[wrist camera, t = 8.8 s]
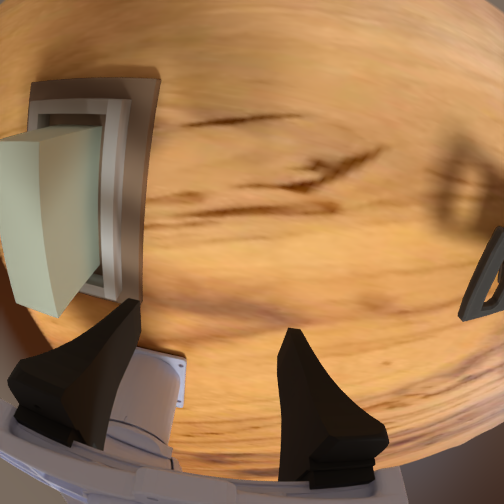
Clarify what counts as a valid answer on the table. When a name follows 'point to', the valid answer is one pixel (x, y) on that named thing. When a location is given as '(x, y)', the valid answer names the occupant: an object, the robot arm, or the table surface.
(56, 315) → the pale green block
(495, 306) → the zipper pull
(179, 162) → the table surface
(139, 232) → the plate
